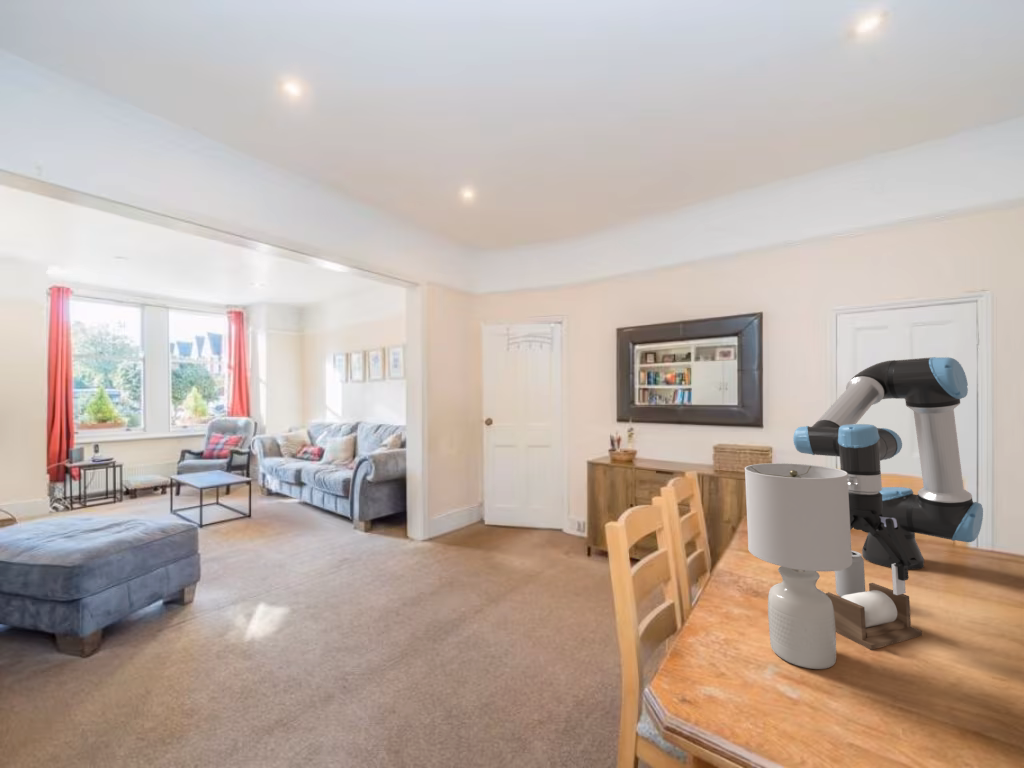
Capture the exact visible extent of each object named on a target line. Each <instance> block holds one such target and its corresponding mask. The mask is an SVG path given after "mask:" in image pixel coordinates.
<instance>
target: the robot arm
mask: <svg viewBox="0 0 1024 768" xmlns="http://www.w3.org/2000/svg"><path fill="white" fill-rule="evenodd" d="M968 391H969V388H968V379H967V375H966V372H965V370H964V368H963V366H962V364H961V363H960V362H959V360H957V359H955V358H954V357H949V356H948V357H947V356H946V357H937V356H933V357H921V358H909V359H897V360H895V359H894V360H885V361H881V362H879V363H876V364H873V365H870V366H869V367H866V368H865V369H863V370H860V372H858V373H857V374H855V375H854V376H853V377H852V378H851V379H850V380H849V381H848V382H847V383H846V385H845V390H844V392H843V393H842V394H841V395H840V396H839V397H837V399H836V400H835V401H834V402H833V404H832V405H831V406H830V407H829V408H828V409H827V410H826V411H825V412H824V413H823V414H822V416H821V417H820V418H819V419H817V420H816V422H815V423H814V424H813V425H812V426H809V425H806V426H799V427H797V428H796V429H795V430H794V432H793V437H792V438H793V445H794V448H795V449H796V451H797V452H799V453H801V454H805V455H807V454H808V455H812V456H815V455H816V456H827V457H839V463H840V470H843V471H845V472H847V473H848V493H849V513H850V531H851V530H856V531H862V532H863V533H867V535H866V538H865V541H864V544H863V547H862V548H861V554H862V558H863V559H864V560H866V561H868V562H870V563H872V564H876V565H879V566H884V567H886V568H891V576H892V577H891V578H892V579H891V580H892V590H893V594H895V595H900V594H906V581H908V580H909V577H910V576H909V570H919V569H923V568H924V567H925V559H924V556H923V554H922V552H921V550H920V547H919V545H918V543H917V540H916V534H919V535H920V534H921V535H925V536H929V537H935V538H939V539H946V540H951V541H952V542H956V541H957V542H964V543H972V542H975V540H977V538H978V537H979V535H980V532H981V529H982V525H983V519H984V518H983V517H984V508H983V505H982V504H981V503H980V502H977V501H973V495H972V493H971V492H969V491H967V490H966V489H965V488H964V481H963V473H962V465H961V458H960V450H959V443H958V433H957V424H956V417H955V416H956V415H955V409H956V408H957V407H958V406H959V405H960V404H961V400H962V399H964V398H966V397H967V396H968ZM886 399H899V400H900V399H901V400H902V399H904V401H905V406H906V407H907V408H908V409H910V410H911V411H913V418H914V423H915V431H916V438H917V439H916V440H917V446H918V454H919V461H920V462H919V463H920V470H921V477H922V485H923V487H922V488H920V489H919V490H917V494H914V491H913V489H912V488H910V487H909V488H908V487H902V486H901V487H899V486H888V487H887V486H884V487H883V485H882V474H881V461H885V460H888V459H892V458H894V457H895V456H897V455H898V454H899V453H900V452H901V450H902V448H903V441H902V439H901V437H900V435H899V434H898V433H897V432H895V431H894V430H891V429H889V428H886V427H885V428H884V427H882V428H880V427H877V426H875V425H873V424H865V423H863V424H862V423H861V424H860V423H859V424H858V422H859V421H860V420H861V419H862V417H863V416H864V415H865V414H866V413H867V411H868V410H869V409H870V408H871V407H872V405H876V404H879V403H880V402H881V401H883V400H886ZM843 570H844V569H843ZM843 570H838V571H843ZM838 571H833V572H834V573H835V572H838Z"/></svg>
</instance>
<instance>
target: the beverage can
mask: <svg viewBox="0 0 1024 768" xmlns="http://www.w3.org/2000/svg"><path fill="white" fill-rule="evenodd" d="M851 551H852V565H851V566H850V567H848V568H846V569H844V570H843V571H838V572H834V577H835V592H836V594H837V596H839V597H842V596H843V595H848V594H854V593H860V592H866V579H865V577H866V576H865V558H863V555H862V552H861V553H860V552H858V551H855V550H852V549H851Z"/></svg>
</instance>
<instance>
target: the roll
mask: <svg viewBox="0 0 1024 768" xmlns="http://www.w3.org/2000/svg"><path fill="white" fill-rule="evenodd" d="M842 598H844V599H846V600H849V601H851V602H853V603H856V604H858V605H861V606H863V607H864V609H865V628H866V627H871V626H876V625H881V624H886V623H890V622H893V621H895V619H896V618H897V608H896V606H895V604H894V602H893V601H892V599H891V598H890V597H889V596H887V595H886V594H885V593H883V592H881V591H877V590H872V591H869V590H867V591H866V590H865V592H860V593H854V594H848V595H843V596H842Z"/></svg>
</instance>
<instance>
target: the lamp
mask: <svg viewBox="0 0 1024 768" xmlns="http://www.w3.org/2000/svg"><path fill="white" fill-rule="evenodd" d="M744 478H745V480H744V481H745V500H746V501H745V503H746V505H745V506H746V523H747V524H746V525H747V545H748V546H747V549H748V552H749V553H750V554H751V555H752V556H754V557H755V558H757V559H760V560H762V561H764V562H766V563H769V564H771V565H776V566H779V567H778V569H777V570H778V572H779V574H780V576H781V578H782V581H781V582H779V583H776V584H774V585H773V586H771V587H770V589H769V592H768V597H767V616H768V619H767V620H768V630H769V640H770V648H771V649H772V651H773V652H774V653H775V654H776V655H777V656H778V657H779V658H780V659H782V660H783V661H785V662H787V663H790V664H792V665H794V666H798V667H801V668H805V669H813V670H824V669H830V668H831V667H832V666H834V665H835V664H836V661H837V632H836V626H835V615H834V608H833V604H832V601H831V599H830V598H829V597H828V595H827V594H826V592H824V591H823V590H821V589H819V588H818V586H817V582H818V580H819V579H820V574H819V572H834V571H838V570H843V569H846V568H848V567H850V566H851V565H852V551H853V550H852V536H851V530H850V513H849V493H848V473H847V472H845V471H843V470H841V469H839V468H835V467H830V466H823V465H816V464H804V463H789V462H788V463H785V462H784V463H783V462H782V463H780V462H777V463H774V462H772V463H770V462H769V463H757V464H756V463H755V464H751V465H747V466H745V467H744ZM851 550H852V551H851Z"/></svg>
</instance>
